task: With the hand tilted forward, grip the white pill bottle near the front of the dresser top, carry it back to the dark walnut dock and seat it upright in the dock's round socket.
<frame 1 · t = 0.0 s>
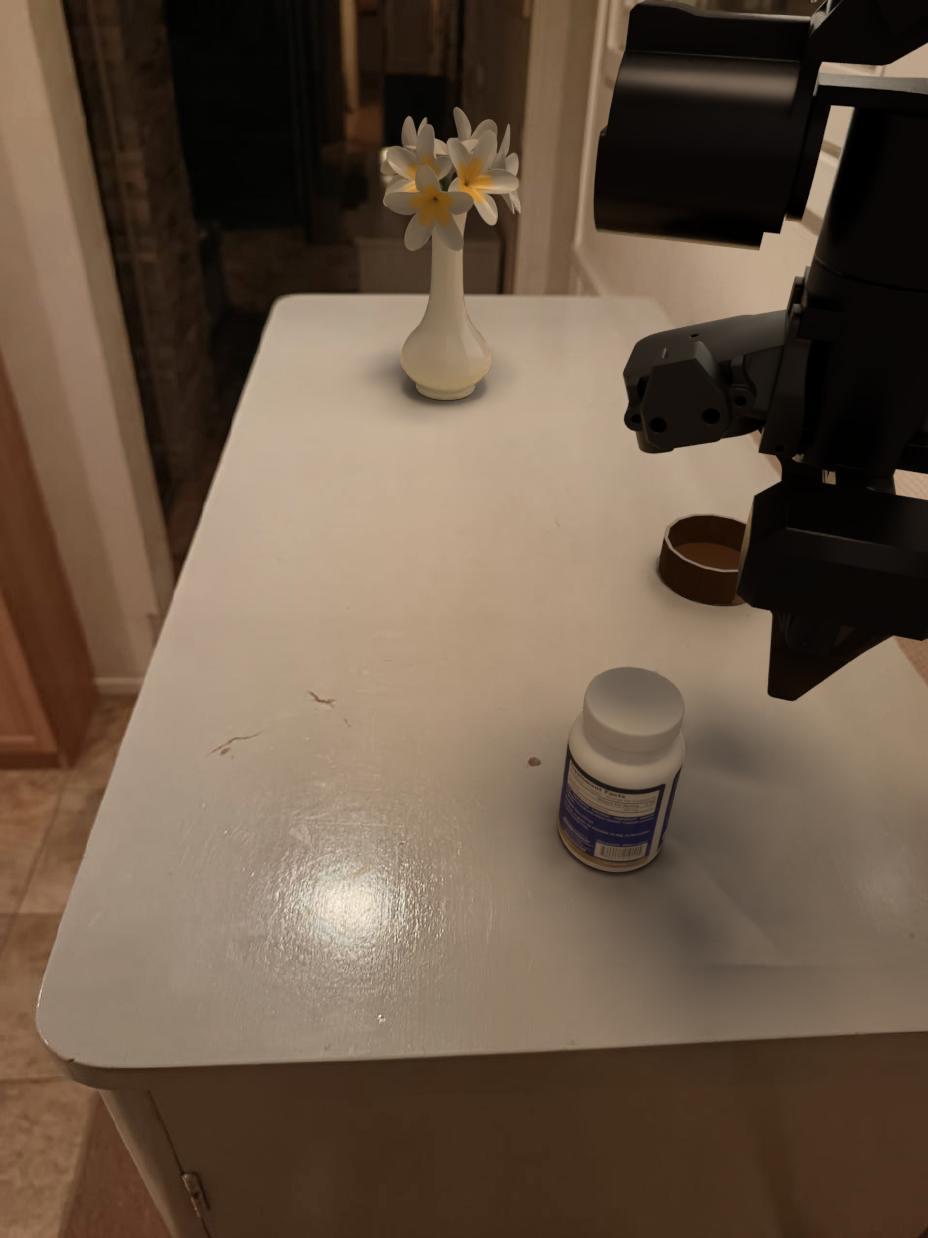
hand: (783, 628, 39), 14 cm above the table, tool pointing down, fingers open, 9 cm apart
dock: (710, 574, 67), on the table
pill bottle: (608, 834, 48), on the table
flower vase: (449, 393, 92), on the table
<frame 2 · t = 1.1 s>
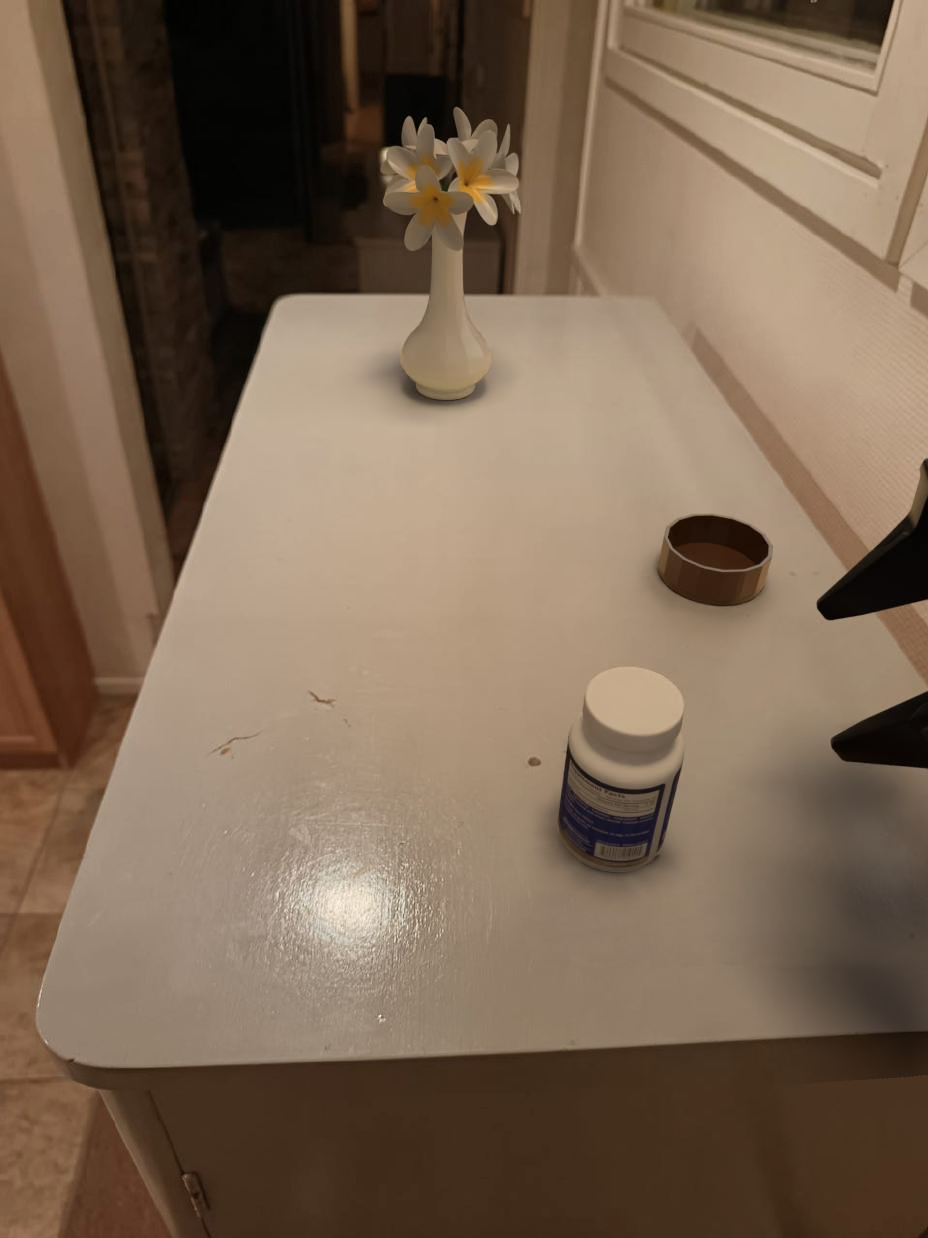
hand: (827, 674, 38), 13 cm above the table, tool tilted 45°, fingers open, 9 cm apart
nothing on the table moved.
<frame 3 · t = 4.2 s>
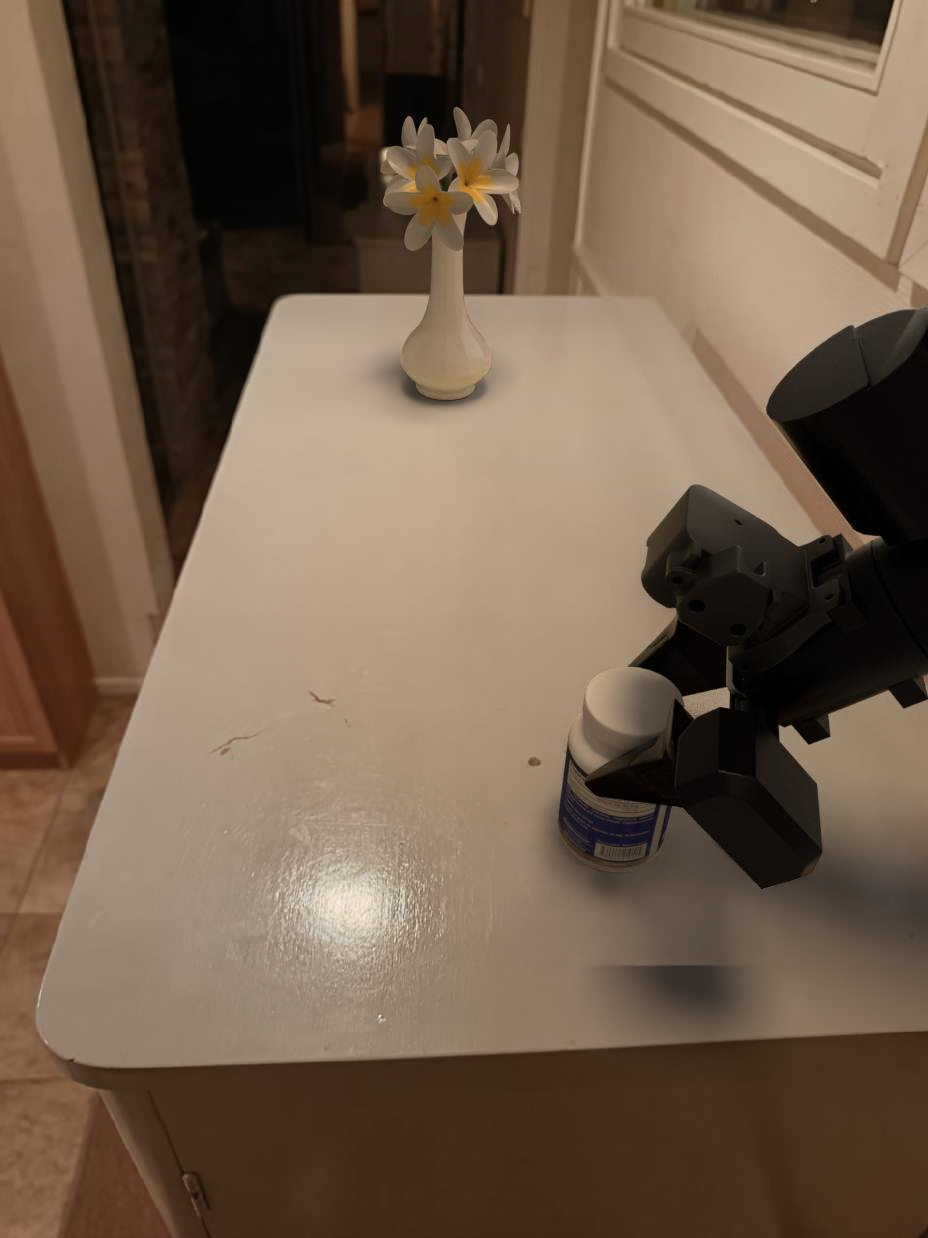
hand: (598, 742, 44), 7 cm above the table, tool tilted 45°, fingers closed on pill bottle, 6 cm apart
pill bottle: (608, 834, 48), on the table, touching gripper
everything else where it was.
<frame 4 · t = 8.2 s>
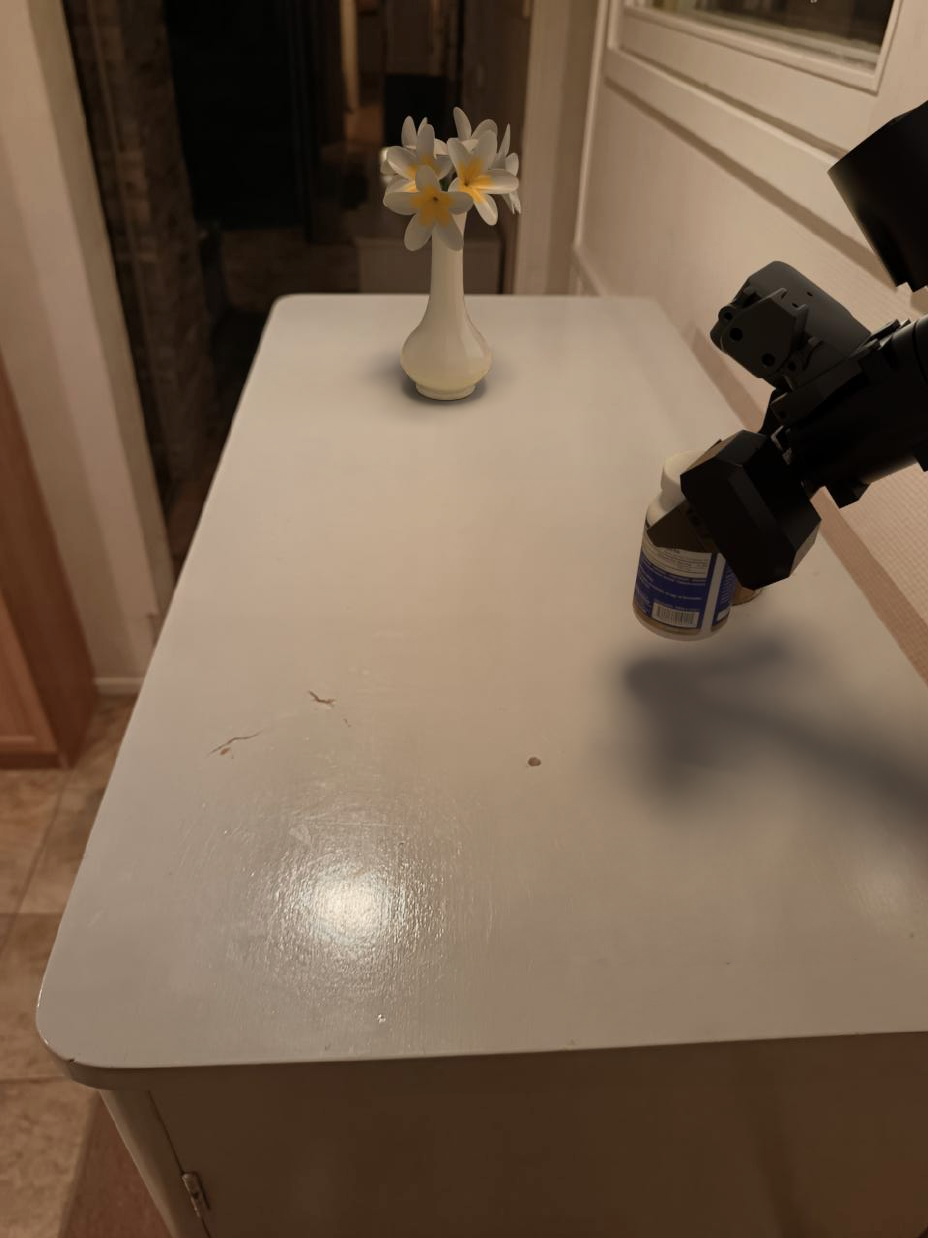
hand: (675, 515, 50), 12 cm above the table, tool tilted 45°, fingers closed on pill bottle, 6 cm apart
pill bottle: (677, 618, 54), point 5 cm above the table, touching gripper
everything else where it was.
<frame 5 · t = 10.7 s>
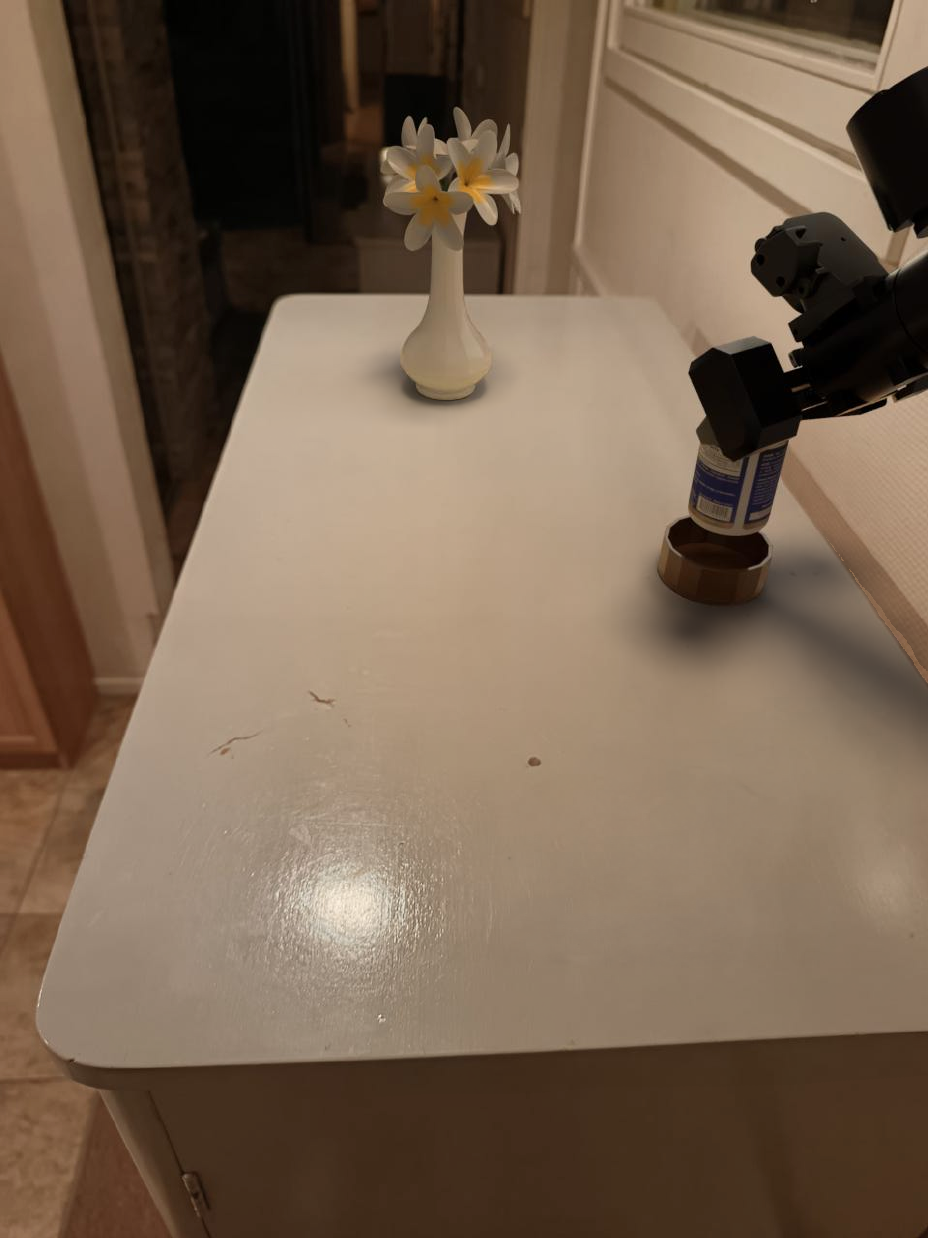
hand: (730, 426, 60), 12 cm above the table, tool tilted 45°, fingers closed on pill bottle, 6 cm apart
pill bottle: (725, 519, 63), point 5 cm above the table, touching gripper
everything else where it was.
when the fingers open (7 cm above the table, at t = 12.5 s): pill bottle stays where it is, resting on dock.
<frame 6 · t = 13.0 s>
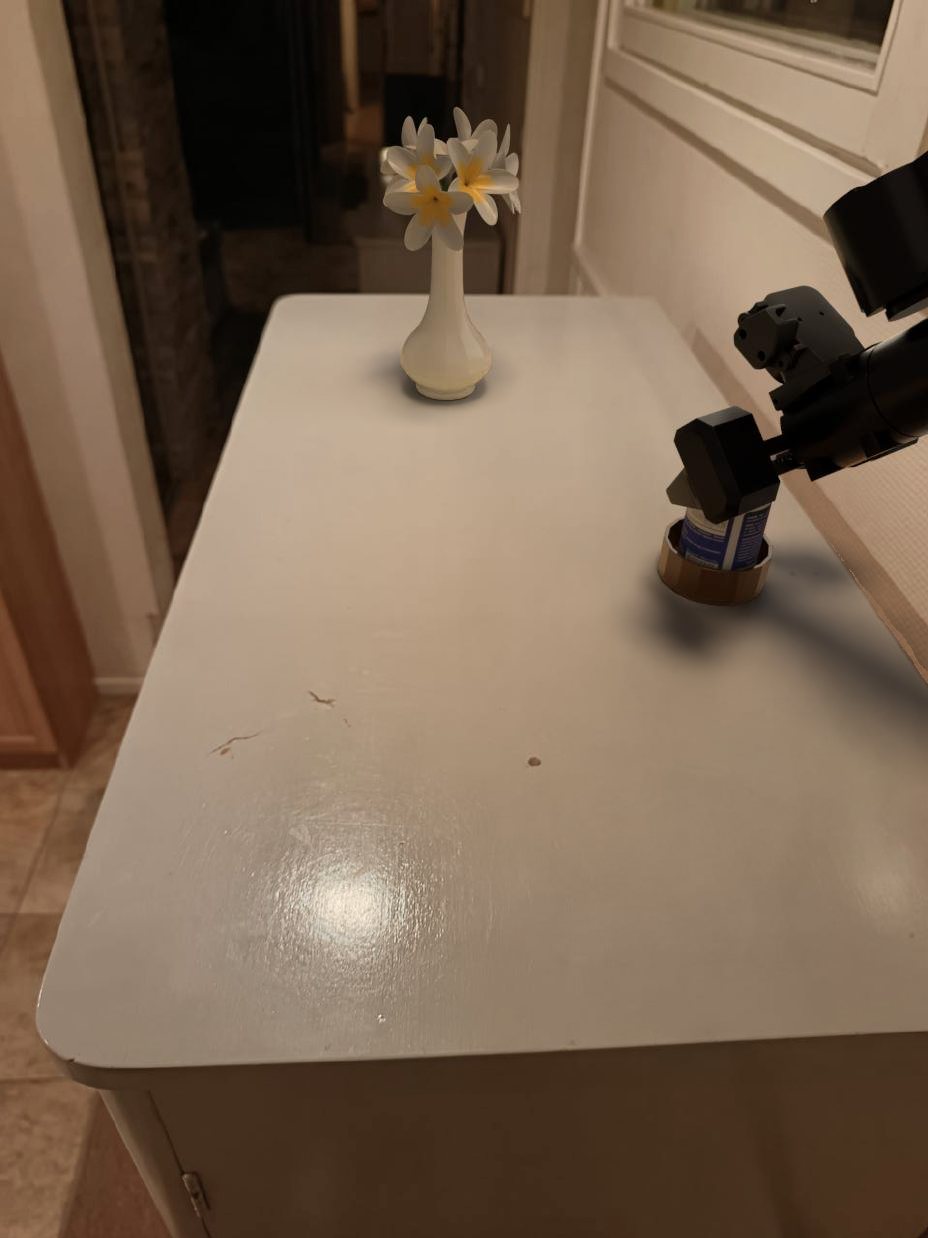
hand: (715, 479, 63), 8 cm above the table, tool tilted 45°, fingers open, 9 cm apart
pill bottle: (712, 572, 66), resting on dock
everything else where it was.
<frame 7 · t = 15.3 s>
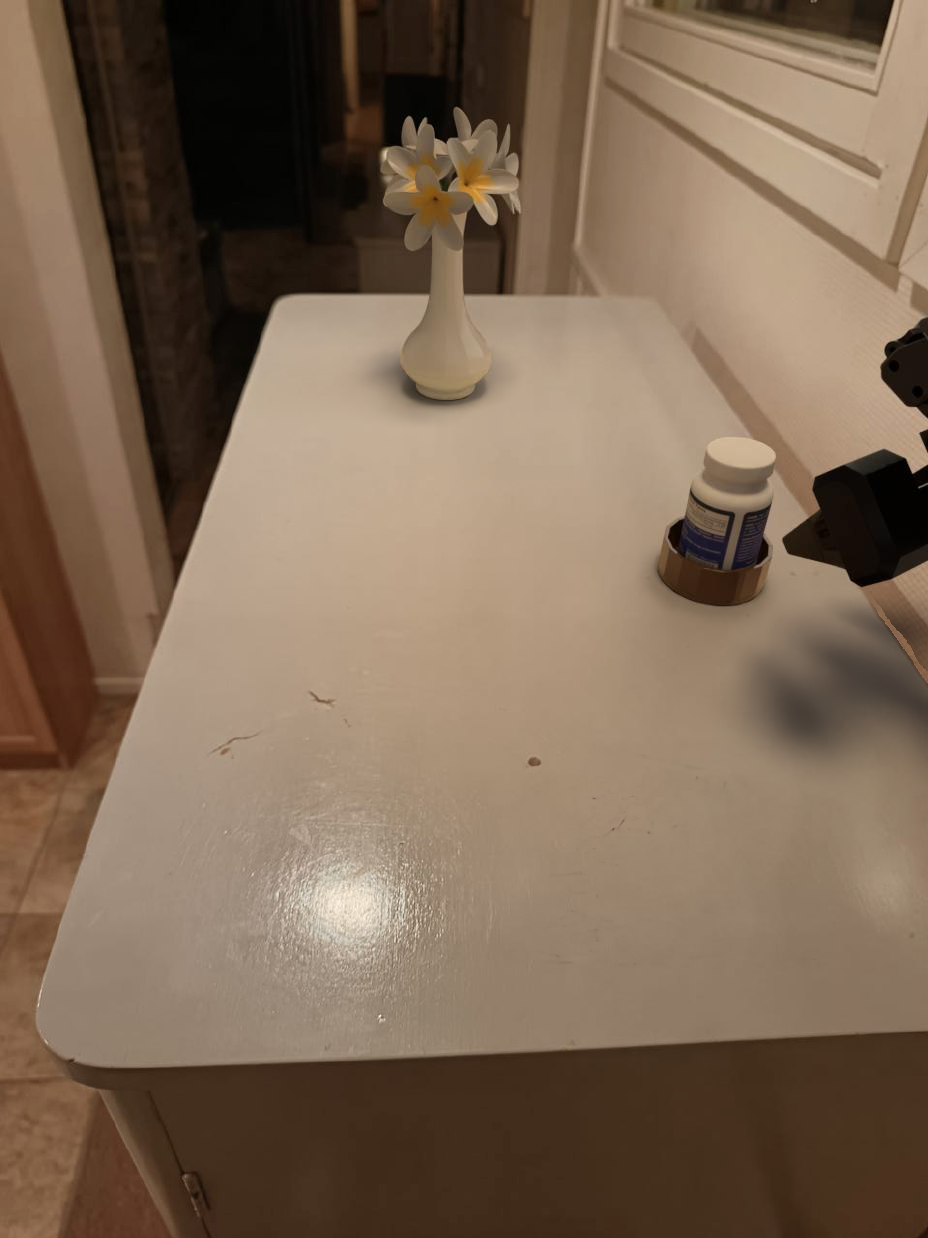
hand: (834, 524, 56), 9 cm above the table, tool tilted 45°, fingers open, 9 cm apart
nothing on the table moved.
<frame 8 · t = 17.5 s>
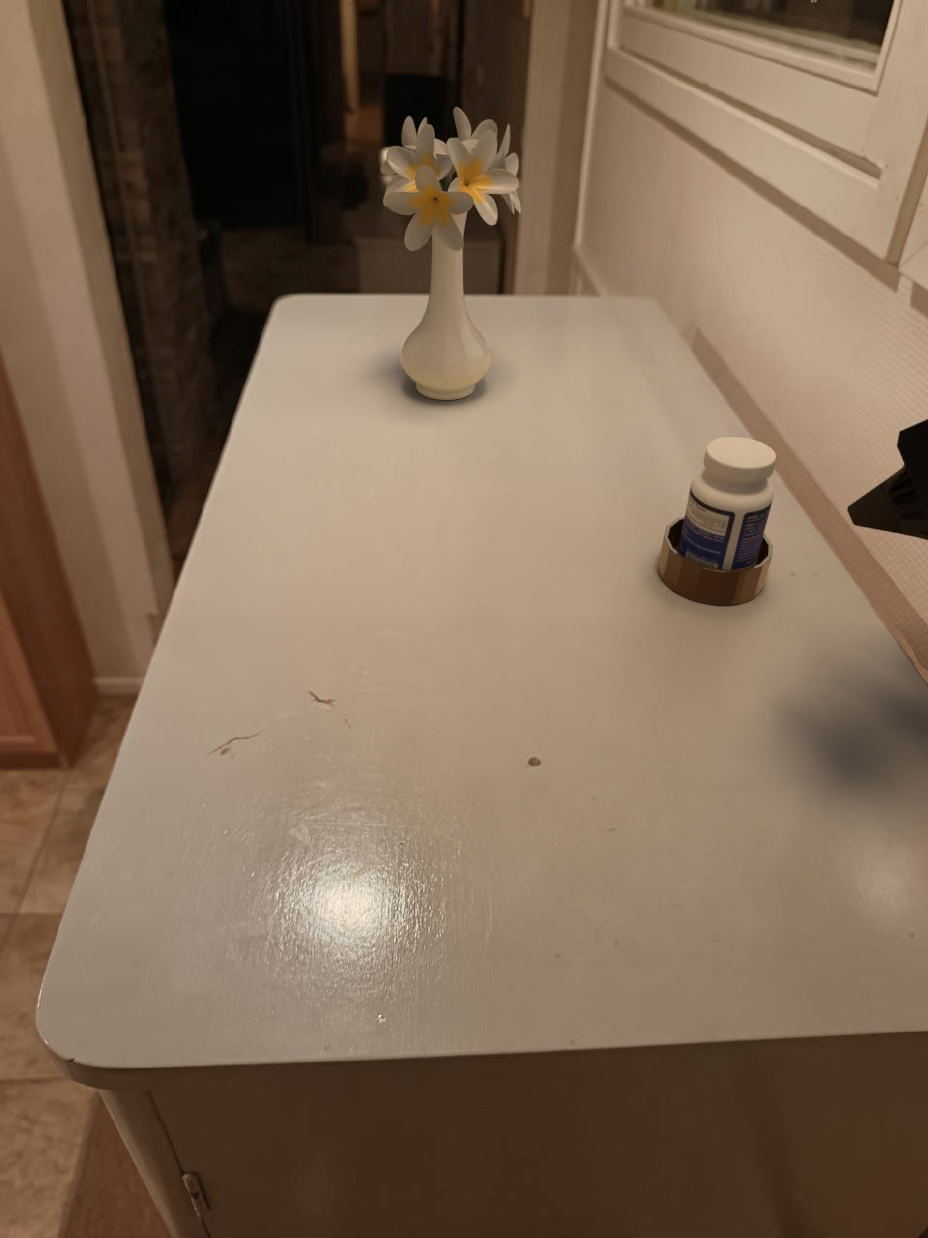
hand: (902, 493, 50), 14 cm above the table, tool tilted 45°, fingers open, 9 cm apart
nothing on the table moved.
at the end: pill bottle 0.1 cm off-centre in the dock, point 0.3 cm above the dock's base; pill bottle tilted 0°; the gripper is holding nothing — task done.
